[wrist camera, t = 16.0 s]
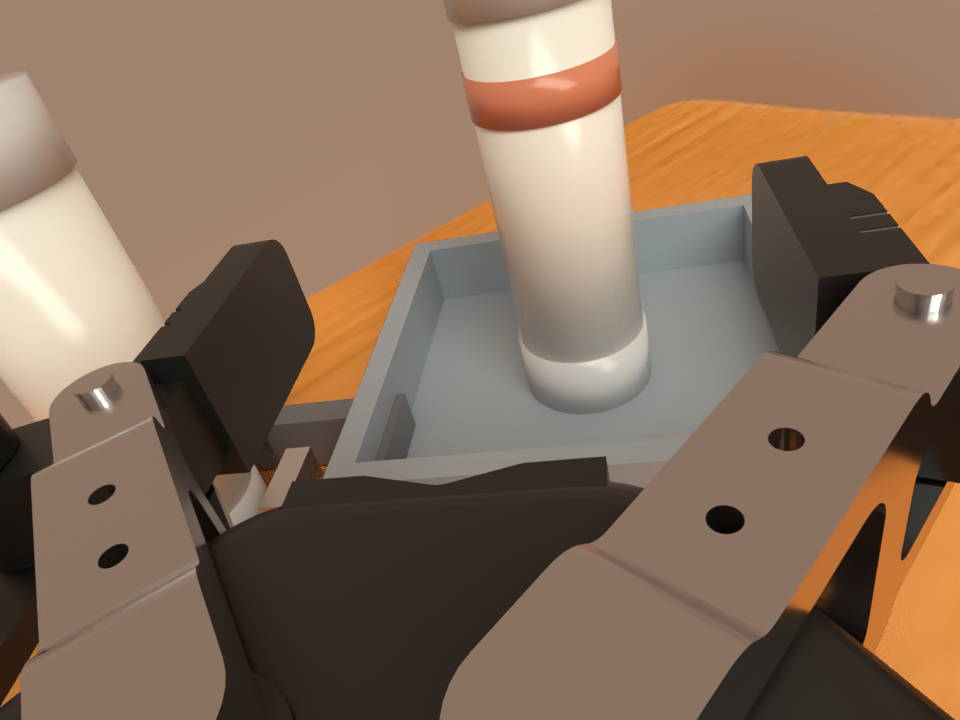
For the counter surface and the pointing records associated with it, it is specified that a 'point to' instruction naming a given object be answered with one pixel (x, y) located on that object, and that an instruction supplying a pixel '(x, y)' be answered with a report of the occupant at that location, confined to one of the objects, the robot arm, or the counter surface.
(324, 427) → the clip holder
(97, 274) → the fuse
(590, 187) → the banded white cylinder
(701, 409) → the tray
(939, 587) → the counter surface
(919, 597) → the counter surface
